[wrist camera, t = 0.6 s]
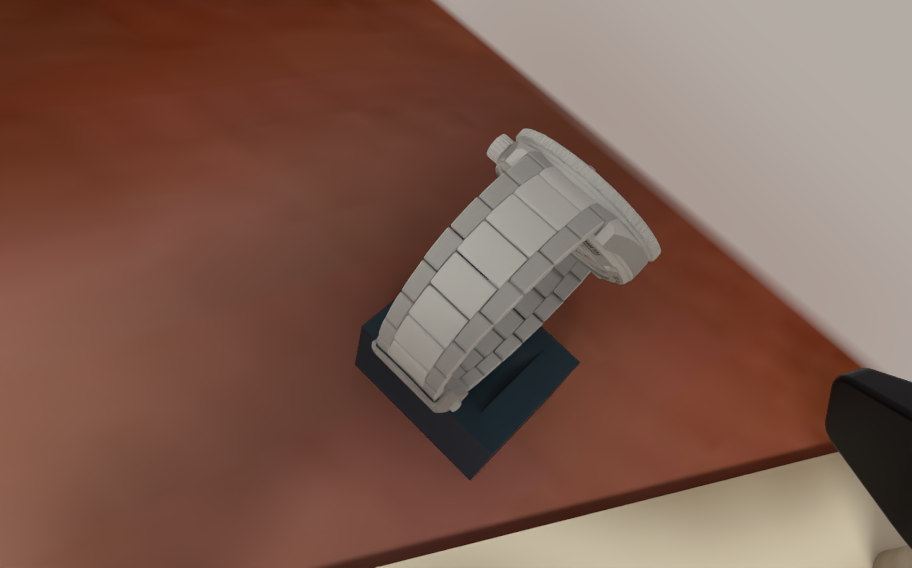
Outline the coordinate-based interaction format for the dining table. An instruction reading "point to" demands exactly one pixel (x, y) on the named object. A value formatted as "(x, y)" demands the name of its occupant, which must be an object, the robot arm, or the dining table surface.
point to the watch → (501, 298)
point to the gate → (711, 529)
